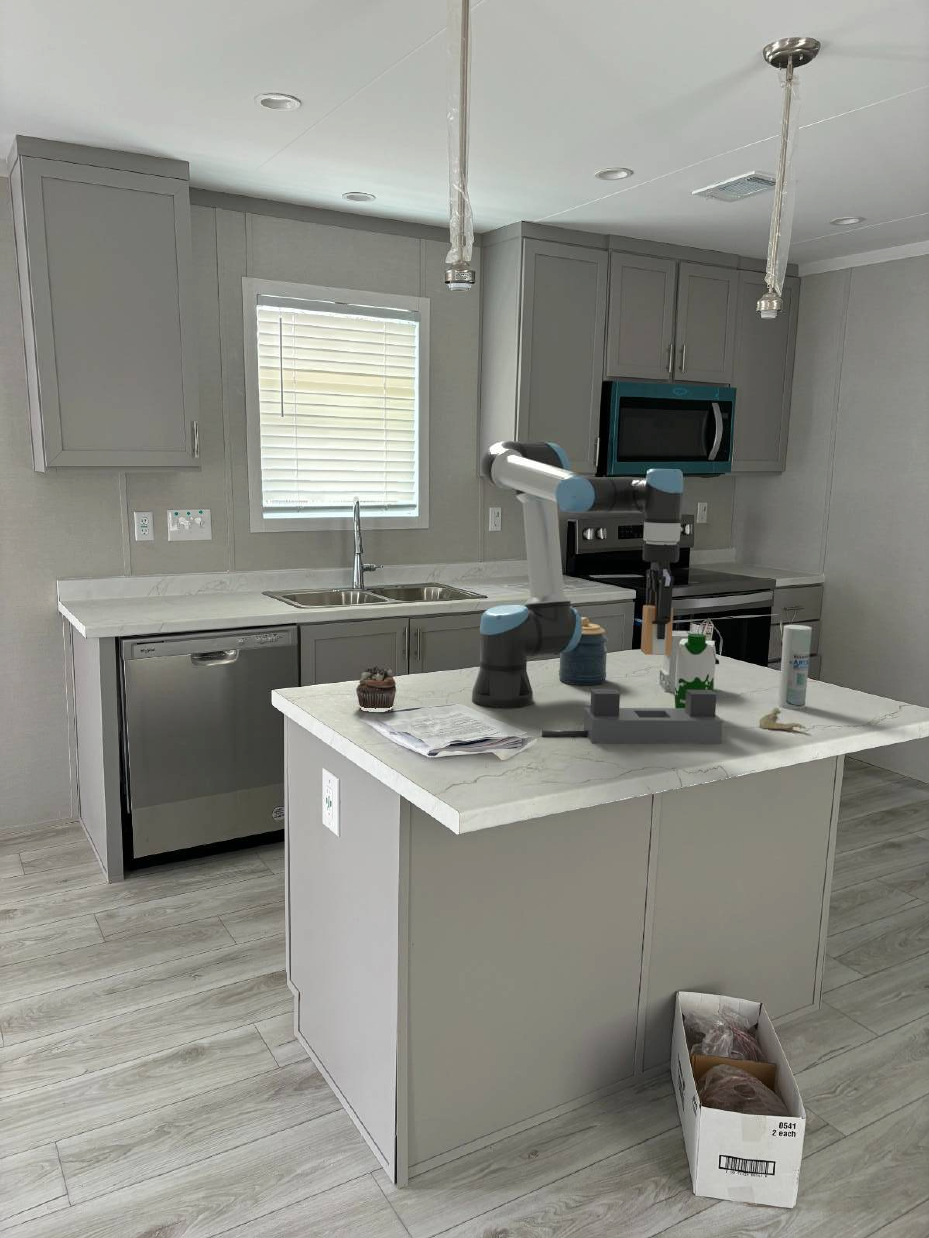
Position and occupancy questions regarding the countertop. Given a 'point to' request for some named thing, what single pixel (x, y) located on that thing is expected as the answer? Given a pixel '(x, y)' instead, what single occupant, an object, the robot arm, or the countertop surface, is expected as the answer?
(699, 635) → the milk carton
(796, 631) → the spray can
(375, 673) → the cupcake
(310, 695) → the countertop surface
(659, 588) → the robot arm
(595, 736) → the power strip
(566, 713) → the countertop surface
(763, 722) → the jawbone
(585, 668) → the canister
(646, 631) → the plug
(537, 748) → the countertop surface
